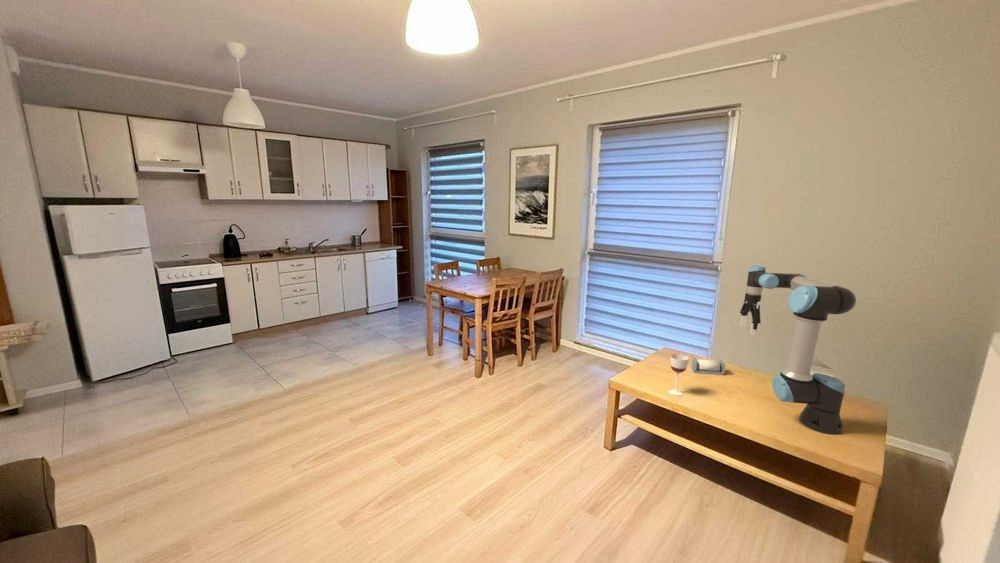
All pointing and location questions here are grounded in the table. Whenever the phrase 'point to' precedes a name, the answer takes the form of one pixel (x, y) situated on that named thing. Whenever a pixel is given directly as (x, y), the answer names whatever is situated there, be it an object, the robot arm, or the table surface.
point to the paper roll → (708, 365)
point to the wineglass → (678, 368)
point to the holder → (720, 372)
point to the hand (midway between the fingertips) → (747, 330)
